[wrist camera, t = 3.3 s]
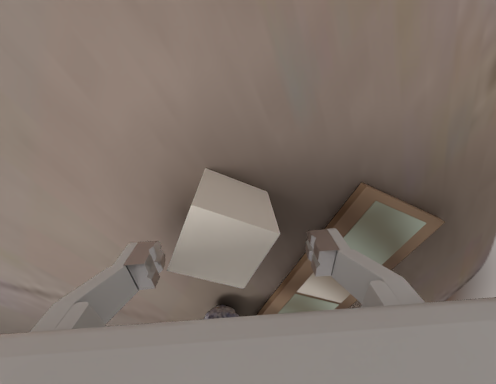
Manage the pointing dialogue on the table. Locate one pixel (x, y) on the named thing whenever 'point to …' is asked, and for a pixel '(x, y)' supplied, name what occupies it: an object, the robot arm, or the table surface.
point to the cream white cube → (225, 232)
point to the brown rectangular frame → (360, 239)
